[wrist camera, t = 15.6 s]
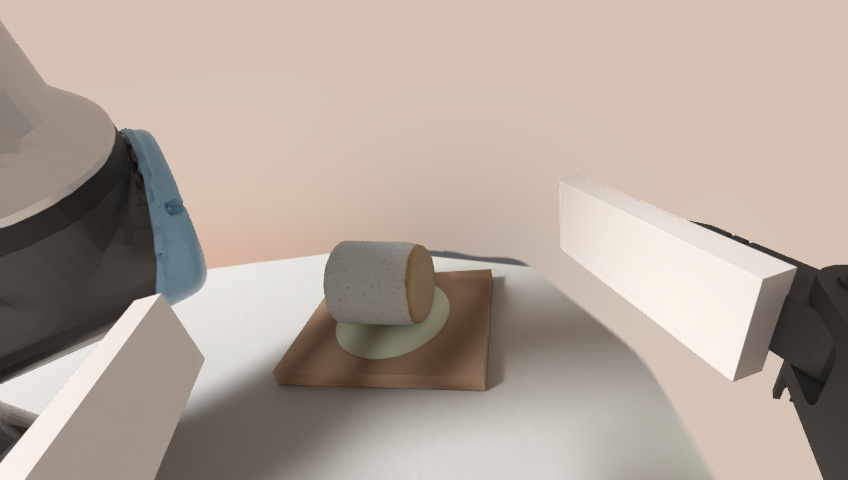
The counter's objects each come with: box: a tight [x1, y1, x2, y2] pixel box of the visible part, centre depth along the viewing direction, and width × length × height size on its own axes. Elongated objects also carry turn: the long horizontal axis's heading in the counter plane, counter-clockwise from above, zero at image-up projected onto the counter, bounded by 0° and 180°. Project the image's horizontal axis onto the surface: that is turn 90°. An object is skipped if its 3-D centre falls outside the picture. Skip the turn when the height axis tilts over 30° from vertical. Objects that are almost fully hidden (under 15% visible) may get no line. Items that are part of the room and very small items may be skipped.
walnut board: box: [272, 269, 493, 391], centre depth 35 cm, size 18×14×2 cm
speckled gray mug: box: [324, 241, 435, 325], centre depth 34 cm, size 11×8×8 cm
